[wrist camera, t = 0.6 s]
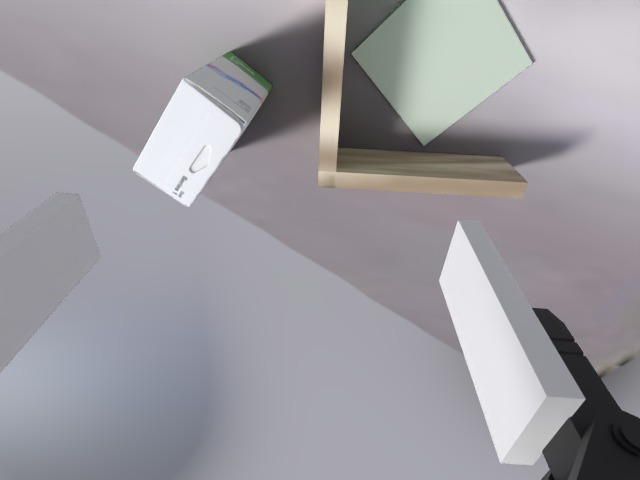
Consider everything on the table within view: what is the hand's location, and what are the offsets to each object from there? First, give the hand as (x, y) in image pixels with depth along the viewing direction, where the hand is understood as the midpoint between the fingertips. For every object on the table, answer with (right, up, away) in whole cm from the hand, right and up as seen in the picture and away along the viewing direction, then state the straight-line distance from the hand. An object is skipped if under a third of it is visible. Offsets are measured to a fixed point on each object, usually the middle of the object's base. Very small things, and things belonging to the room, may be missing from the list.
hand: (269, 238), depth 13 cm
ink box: (-7, +13, +22) cm, 26 cm away
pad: (+12, +16, +19) cm, 27 cm away
